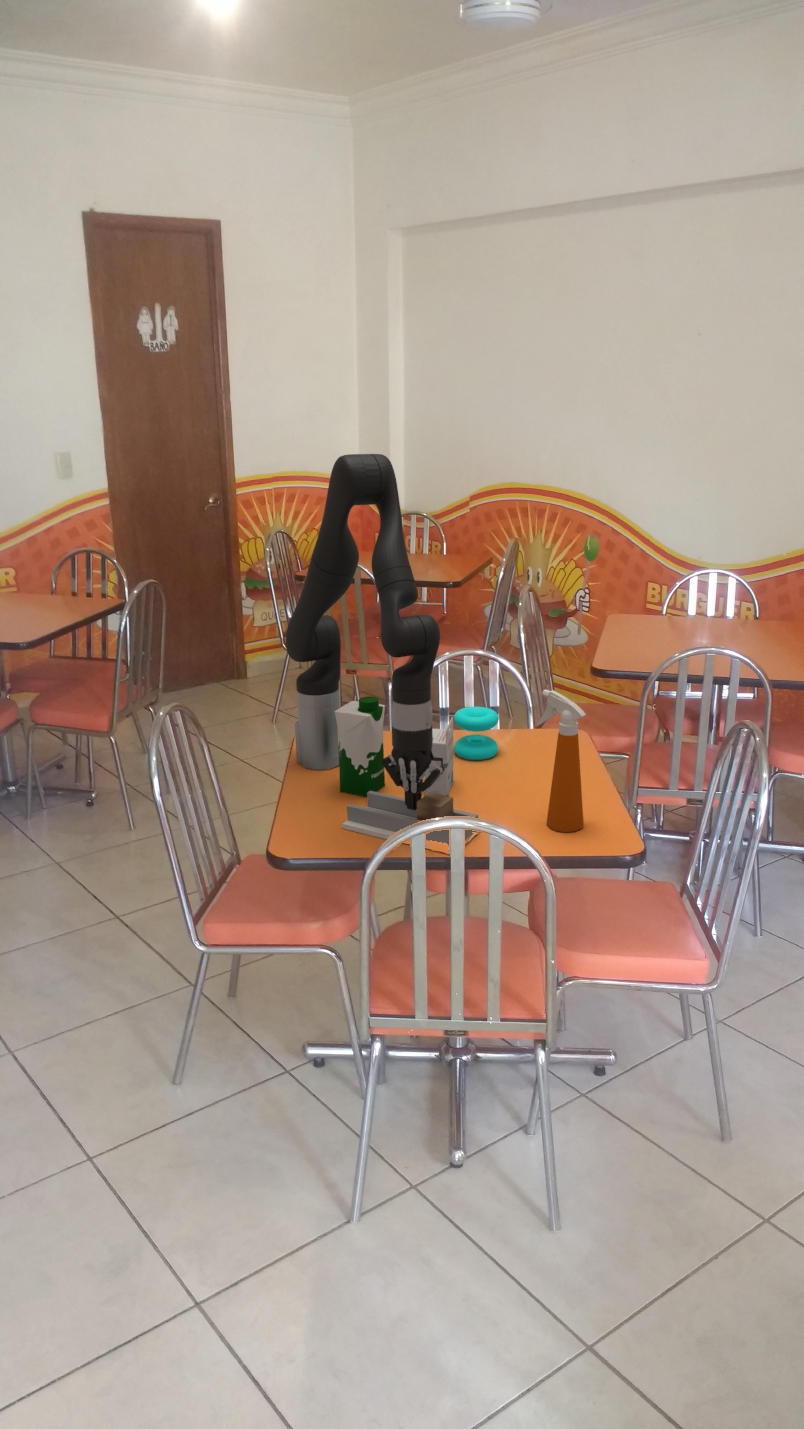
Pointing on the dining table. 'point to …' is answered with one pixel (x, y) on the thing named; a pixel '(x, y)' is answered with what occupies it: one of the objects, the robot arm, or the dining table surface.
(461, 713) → the donuts
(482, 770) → the dining table surface
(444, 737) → the ink box
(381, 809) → the chute
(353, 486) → the robot arm
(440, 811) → the block
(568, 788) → the spray bottle
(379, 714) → the milk carton
